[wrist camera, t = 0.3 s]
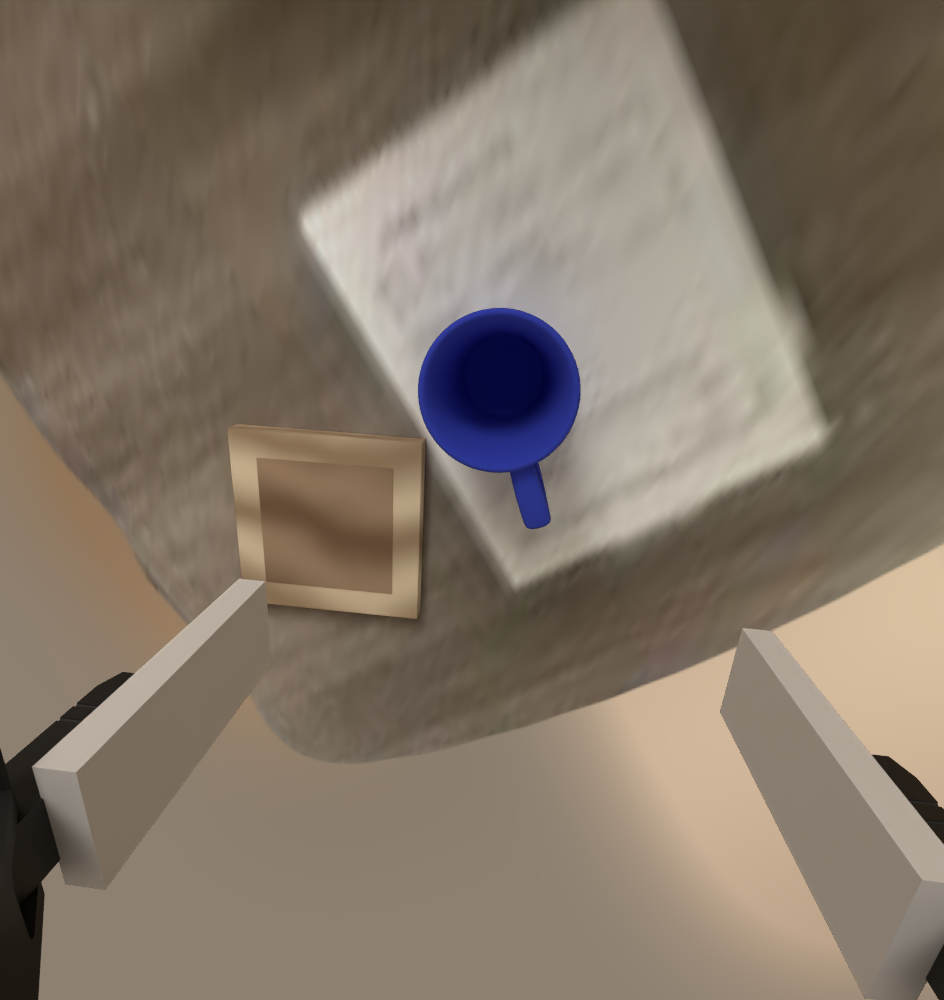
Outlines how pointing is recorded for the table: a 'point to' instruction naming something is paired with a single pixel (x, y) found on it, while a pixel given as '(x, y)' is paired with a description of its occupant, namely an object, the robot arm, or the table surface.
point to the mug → (501, 398)
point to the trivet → (330, 517)
